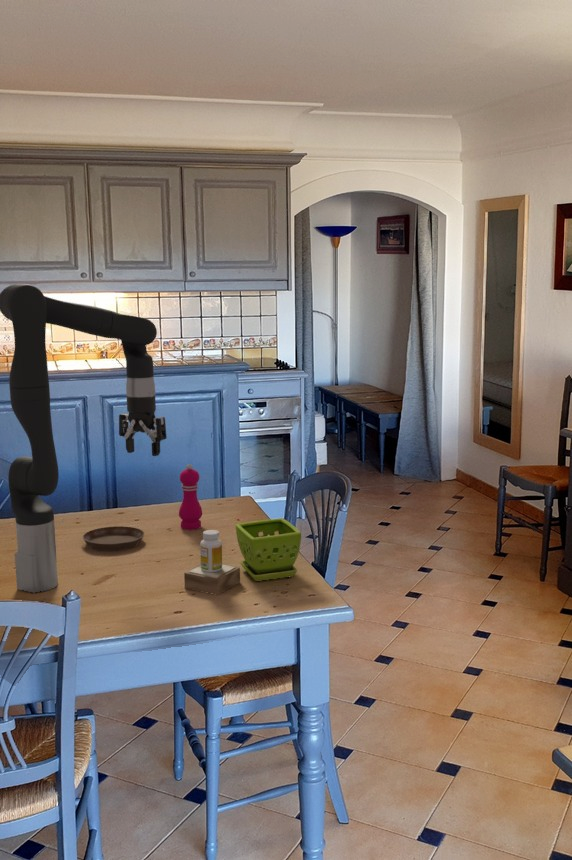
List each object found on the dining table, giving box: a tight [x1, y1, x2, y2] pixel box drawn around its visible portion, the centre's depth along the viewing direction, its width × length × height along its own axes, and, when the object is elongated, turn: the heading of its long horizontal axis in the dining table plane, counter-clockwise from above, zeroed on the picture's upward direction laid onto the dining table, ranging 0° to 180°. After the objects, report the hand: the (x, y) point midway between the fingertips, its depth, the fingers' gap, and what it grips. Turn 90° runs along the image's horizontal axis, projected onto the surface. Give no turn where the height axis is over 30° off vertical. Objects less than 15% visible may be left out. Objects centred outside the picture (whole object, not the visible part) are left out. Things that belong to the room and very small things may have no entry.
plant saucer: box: [82, 525, 145, 552], centre depth 252 cm, size 18×18×3 cm
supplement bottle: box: [199, 529, 223, 572], centre depth 216 cm, size 5×5×10 cm
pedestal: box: [183, 563, 241, 595], centre depth 217 cm, size 10×10×4 cm
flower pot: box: [235, 518, 302, 582], centre depth 224 cm, size 14×14×13 cm
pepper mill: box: [178, 463, 203, 531], centre depth 266 cm, size 7×7×20 cm
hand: (143, 454), depth 230 cm, fingers open, 8 cm apart
